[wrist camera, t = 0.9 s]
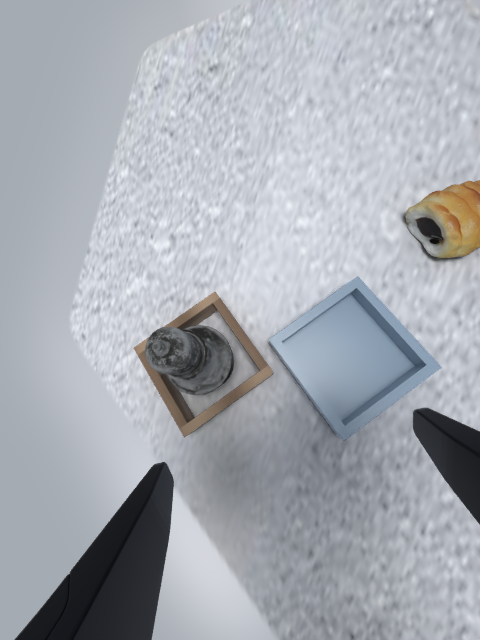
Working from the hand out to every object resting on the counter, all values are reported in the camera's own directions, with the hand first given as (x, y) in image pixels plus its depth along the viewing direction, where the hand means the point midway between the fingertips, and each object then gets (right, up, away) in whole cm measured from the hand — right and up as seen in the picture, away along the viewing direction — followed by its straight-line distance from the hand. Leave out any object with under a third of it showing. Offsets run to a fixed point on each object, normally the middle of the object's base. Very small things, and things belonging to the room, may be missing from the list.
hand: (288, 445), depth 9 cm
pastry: (+20, +14, +17) cm, 30 cm away
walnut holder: (-5, 0, +16) cm, 17 cm away
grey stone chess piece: (-5, 0, +16) cm, 17 cm away
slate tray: (+8, +1, +15) cm, 17 cm away
